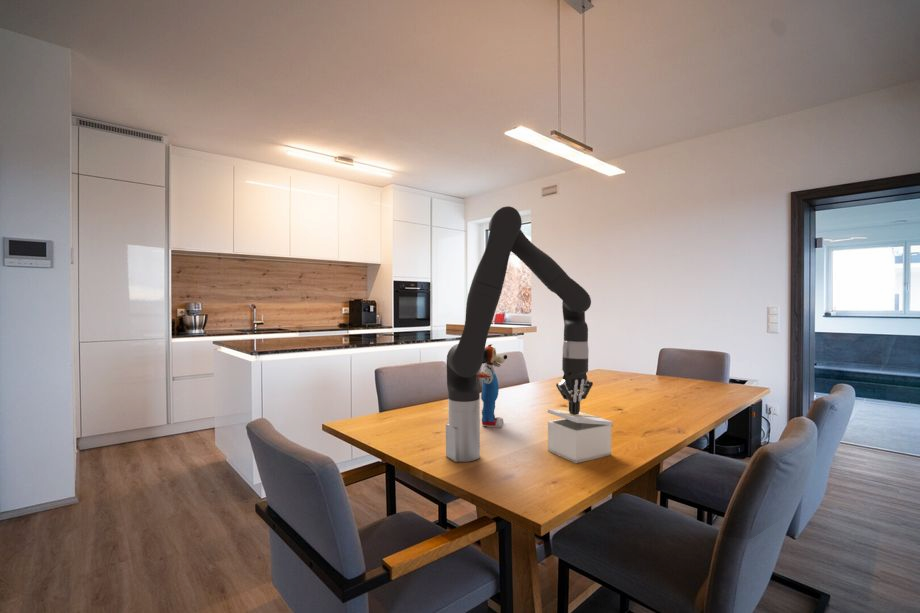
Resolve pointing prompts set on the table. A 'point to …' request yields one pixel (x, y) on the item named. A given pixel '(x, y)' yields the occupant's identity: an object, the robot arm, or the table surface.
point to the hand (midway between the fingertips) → (574, 413)
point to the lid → (580, 417)
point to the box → (579, 440)
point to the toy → (490, 387)
